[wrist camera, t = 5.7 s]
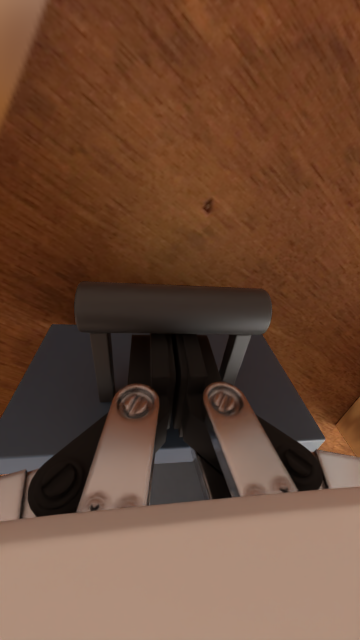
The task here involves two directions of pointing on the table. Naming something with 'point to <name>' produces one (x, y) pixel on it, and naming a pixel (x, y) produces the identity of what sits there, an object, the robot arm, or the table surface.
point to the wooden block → (351, 427)
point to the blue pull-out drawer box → (113, 366)
